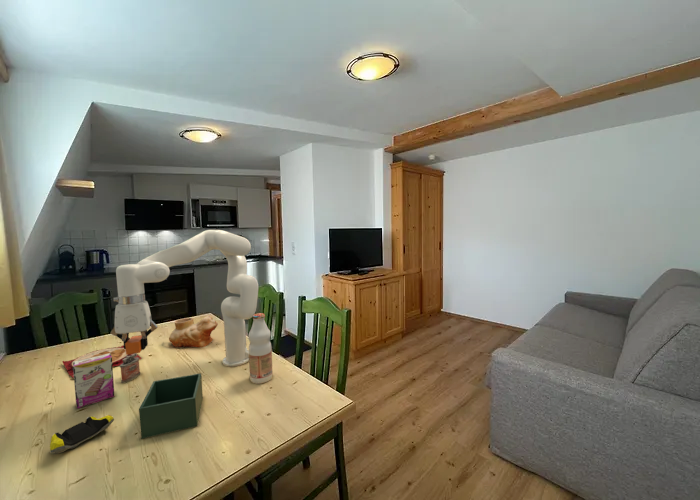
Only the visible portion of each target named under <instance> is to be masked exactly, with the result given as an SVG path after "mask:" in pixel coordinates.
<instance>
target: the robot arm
mask: <svg viewBox="0 0 700 500" xmlns="http://www.w3.org/2000/svg"><path fill="white" fill-rule="evenodd" d="M251 244H252V243H251V242H250V241H249V239H247V238H246V237H244V236H241V235H237V234H235V233H232V232H230V231H226V230H222V229H206V230H204V231H201V232H199V233H198V234H196V235H194V236H192V237H190V238H188V239H186V240H184V241H183V242H180V243H178V244H175V245H173V246H170V247H168V248H165V249H162V250H160V251H156V252H155V253H153V254H151V255H149V256H147V257H144V258H143V259H141V260H139V261H138V262H137V263H128V264H121V265H118V266H117V267H116V269H115V275H116V277H115V278H116V286H117V287H116V288H117V296H116V297H113V302H117V304H116V305H115V309H114V326H113V328H112V329H111V331H110V335H111V336H115V337H116V338H118V339H120V340H121V341H122V342H123V345H124V349H126V347H125V343H126V342H127V341H128V340H129V339H130V338H131V337H129V335H130V334H131V333H132V334H133V333H140V335H142V339H141V349H142V351H144V350H145V349H146V348H147V347H148V344H149V343H148V336H150V334H151V333H153V332H154V331H156V330H157V329H158V325H157V324H156V323H155V321H153V320H152V314H151V309H150V305H149V302H148V301H147V300H146V294H145V284H149V283H151V284H152V283H160V282H163V281H165V280H167V279H168V277H169V276H170V273H171V271H170V268H171V267H174V266H178V265H184V264H185V265H186V264H188V263H192V262H194V261H196V260H197V259H199V258H201V257H202V256H205V255H206V254H208V253H209V252H211V251H213V250H217V251H219V252H220V253H222V255H224V257H225V258H226V261H227V264H228V265H227V277H226V290H227V291H228V293H230V294H234V295H238V296H233V295H232V296H227V297H226V298H224V299H223V300H222V301H221V303H220V312H221V316H222V321H223V329H224V331H223V332H224V333H223V334H224V349H225V357H224V358H223V359H222V361H221V362H222V365H223V366H225V367H238V366H242V365H245V364H247V363H249V349H248V347H247V332H246V320H250V319H253V315H254V314H256V312H257V307H258V297H259V281H258V279H257V278H256V277H255V276H253V275H249V274H248V273H247V272H248V261H247V258H246V256H247V255H249V253H250V252H251V249H252V245H251Z"/></svg>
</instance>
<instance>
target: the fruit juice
mask: <svg viewBox="0 0 700 500" xmlns="http://www.w3.org/2000/svg"><path fill="white" fill-rule="evenodd" d="M265 319H266V315H265V313H263V312H262V313H261V312H258V313H255V314H254V315H253V317H252V320H253V321H252V325H251V328H250V330H249V332H248V334H247V335H248V336H247V337H248V341H249V345H248V351H249V361H248V366H249V369H248V370H249V380H250V382H251V383H253V384H257V385H258V384H259V385H260V384H265V383H267V382H269V381H271V380H272V379H273V375H274V373H273V371H274V370H273V354H272V353H273V350H272V349H273V347H272V343H271V337H272V334H271V333H272V332H271V330H270V328H269V327H268V325H267V322H266V321H265Z"/></svg>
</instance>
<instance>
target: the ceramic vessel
mask: <svg viewBox="0 0 700 500" xmlns="http://www.w3.org/2000/svg"><path fill="white" fill-rule="evenodd" d="M218 325H219V323H218V322H217V320H215V319H213V317H212V316H211V315H207V316H204V317H203V318H201V319H200V320H199V321H198V322H196V323H195V322H194V318H193V317H184V318H180V319H179V318H178V319H176V320H174V327H175V328H174V329H173V330H172V331H171V332H170V334H169V336H168V341H169V342H170V343H171V344H172V346H174V348H180V349H181V348H199V349H201V348H205V347H206V346H208V345H210V344H211V343H212V341H213V337H212V336H211V335H212V332H214V331H215V330H216V328H217V327H218Z"/></svg>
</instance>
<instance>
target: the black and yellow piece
mask: <svg viewBox="0 0 700 500" xmlns="http://www.w3.org/2000/svg"><path fill="white" fill-rule="evenodd" d="M114 421H115V418H114V416H112V415H109V414H108V415H104V416H103V417H99V418H97V417H95V416H93V415H92V416H87V417H86V419H85V421H80V422H79V423H77V424H75V425H73V426H70V427H68V428H66V429H65V430H64V431H62V433H60V432H54V433H53V434H52V436H51V438H50V443H49V452H50V454H62V453H63V452H65V451H67V450H73V449H75V448H77V447H78V446H79V445H80V444H82V443H83V442H85V441H87V440H91V439H92V438H93V437H95V436H97V435H98V434H99V433H101V432H103V431H105V430H106V429H108V428H109V427H110V426H111V424H112V423H113V422H114Z"/></svg>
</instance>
